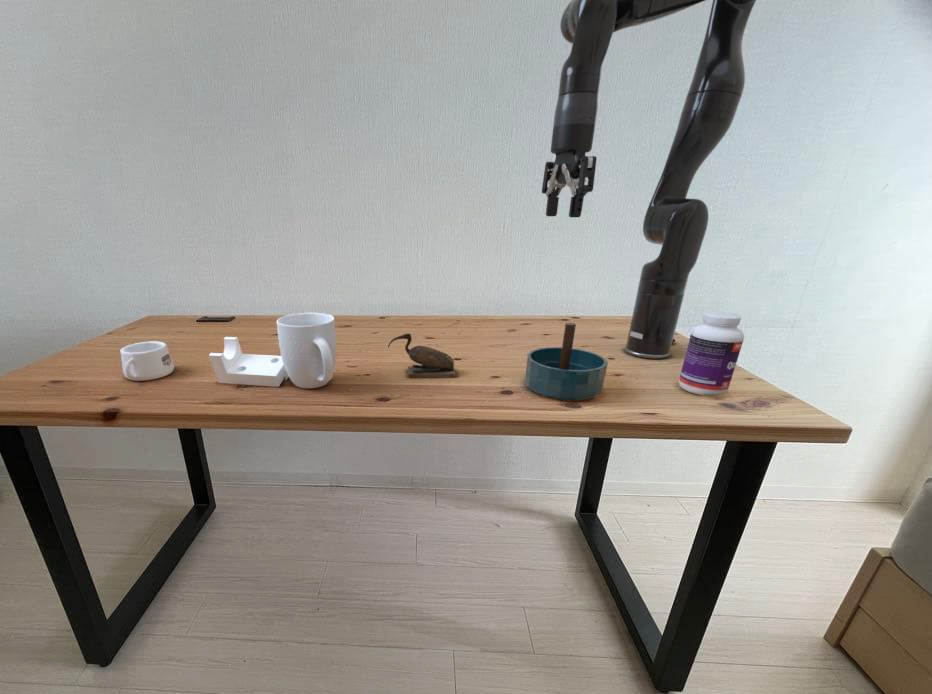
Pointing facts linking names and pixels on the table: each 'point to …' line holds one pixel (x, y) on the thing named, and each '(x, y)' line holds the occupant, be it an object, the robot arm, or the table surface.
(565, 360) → the brown peg
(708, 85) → the robot arm
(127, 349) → the mug
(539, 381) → the bowl
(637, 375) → the table surface
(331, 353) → the mug
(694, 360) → the pill bottle
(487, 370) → the table surface
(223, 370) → the bracket
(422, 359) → the figurine
